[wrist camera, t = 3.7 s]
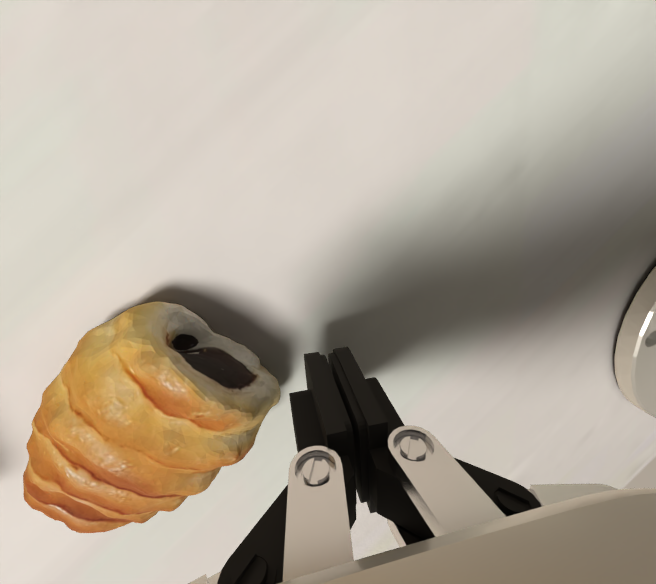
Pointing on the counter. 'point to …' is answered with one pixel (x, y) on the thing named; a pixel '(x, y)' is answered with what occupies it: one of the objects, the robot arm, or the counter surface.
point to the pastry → (143, 418)
